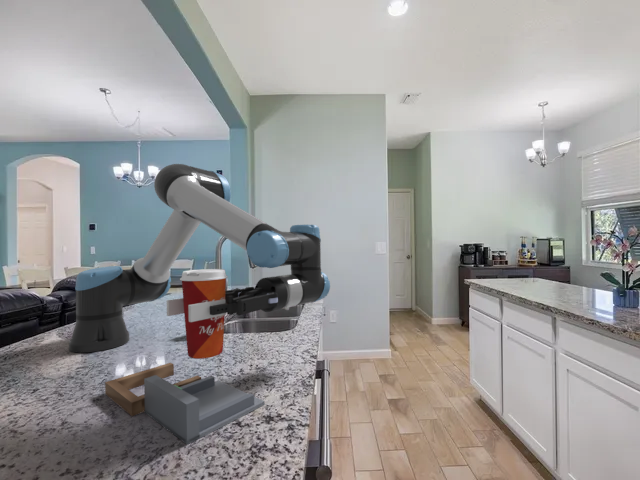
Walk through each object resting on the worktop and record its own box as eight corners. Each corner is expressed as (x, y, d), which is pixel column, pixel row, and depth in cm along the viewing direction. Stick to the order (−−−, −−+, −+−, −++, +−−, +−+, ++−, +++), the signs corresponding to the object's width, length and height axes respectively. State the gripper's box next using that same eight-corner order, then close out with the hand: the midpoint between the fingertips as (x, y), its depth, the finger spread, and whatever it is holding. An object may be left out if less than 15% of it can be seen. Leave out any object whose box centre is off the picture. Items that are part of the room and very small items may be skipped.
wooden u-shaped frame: (131, 416, 56) (131, 402, 56) (105, 394, 64) (105, 382, 64) (201, 389, 66) (201, 377, 66) (170, 372, 75) (170, 362, 75)
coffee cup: (214, 362, 53) (212, 272, 53) (170, 359, 55) (169, 272, 55) (237, 346, 61) (235, 268, 62) (198, 344, 63) (197, 268, 63)
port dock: (187, 444, 48) (186, 404, 48) (144, 412, 57) (144, 378, 57) (264, 404, 59) (264, 372, 59) (218, 383, 69) (218, 355, 69)
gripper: (311, 315, 66) (210, 343, 48) (250, 304, 78) (152, 324, 61) (310, 278, 66) (209, 293, 48) (249, 274, 78) (152, 285, 61)
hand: (178, 310), depth 54 cm, fingers closed on coffee cup, 7 cm apart
